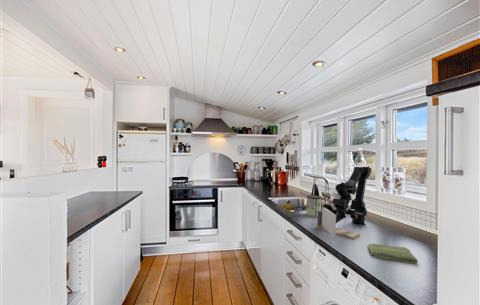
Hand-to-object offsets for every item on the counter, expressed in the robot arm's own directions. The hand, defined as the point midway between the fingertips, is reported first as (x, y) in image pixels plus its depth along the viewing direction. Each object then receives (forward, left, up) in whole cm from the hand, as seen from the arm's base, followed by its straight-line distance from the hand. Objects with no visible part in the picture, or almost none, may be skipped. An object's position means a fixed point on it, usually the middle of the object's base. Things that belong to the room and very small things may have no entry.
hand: (334, 223), depth 128 cm
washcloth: (-17, +24, -7) cm, 30 cm away
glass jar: (+2, -39, -6) cm, 39 cm away
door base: (-2, -4, -6) cm, 8 cm away
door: (+3, -1, -5) cm, 6 cm away
